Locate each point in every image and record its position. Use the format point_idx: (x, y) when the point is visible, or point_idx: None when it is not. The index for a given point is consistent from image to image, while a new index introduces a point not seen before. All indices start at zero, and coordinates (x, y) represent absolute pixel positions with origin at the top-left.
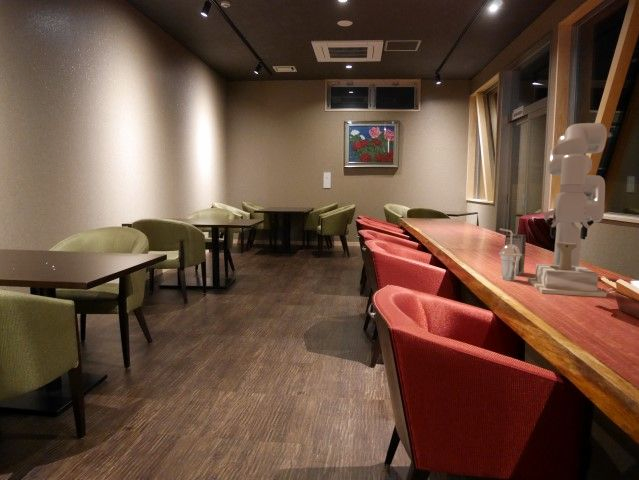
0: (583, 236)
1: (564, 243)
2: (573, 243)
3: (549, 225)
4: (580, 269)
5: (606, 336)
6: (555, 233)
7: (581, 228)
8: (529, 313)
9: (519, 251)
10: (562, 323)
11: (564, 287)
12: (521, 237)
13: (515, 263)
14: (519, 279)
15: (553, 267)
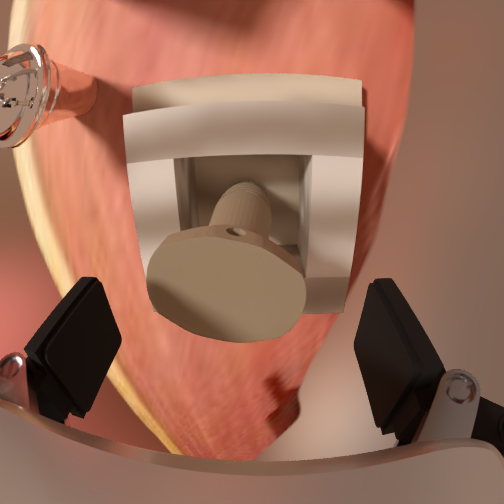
0: (360, 364)
1: (204, 306)
2: (281, 297)
3: (5, 358)
4: (313, 226)
5: (227, 458)
6: (103, 372)
7: (405, 374)
8: (148, 417)
9: (24, 102)
10: (188, 440)
11: None
12: None
13: (51, 116)
14: (115, 69)
15: (199, 155)
